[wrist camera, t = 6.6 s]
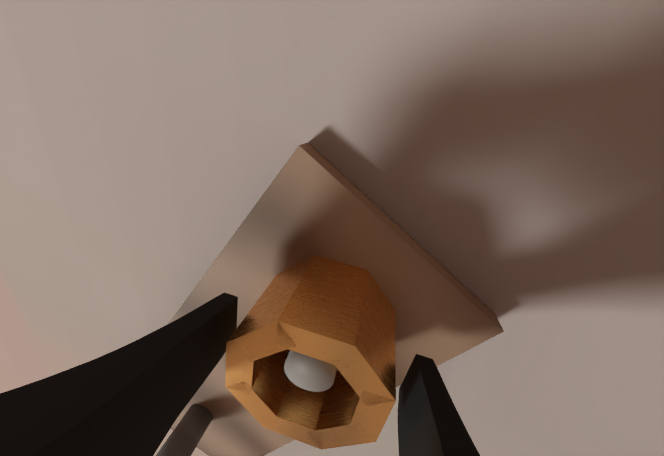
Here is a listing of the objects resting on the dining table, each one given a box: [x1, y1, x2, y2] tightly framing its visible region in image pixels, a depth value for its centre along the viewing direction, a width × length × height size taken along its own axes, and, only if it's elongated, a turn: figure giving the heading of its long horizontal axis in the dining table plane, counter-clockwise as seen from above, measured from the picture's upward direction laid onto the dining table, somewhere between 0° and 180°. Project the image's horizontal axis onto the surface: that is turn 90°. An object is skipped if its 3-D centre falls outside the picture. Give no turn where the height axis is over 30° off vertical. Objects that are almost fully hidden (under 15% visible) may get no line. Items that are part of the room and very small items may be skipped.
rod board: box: [156, 143, 503, 456], centre depth 14 cm, size 24×11×4 cm, turn 140°
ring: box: [225, 255, 396, 449], centre depth 10 cm, size 6×6×4 cm
